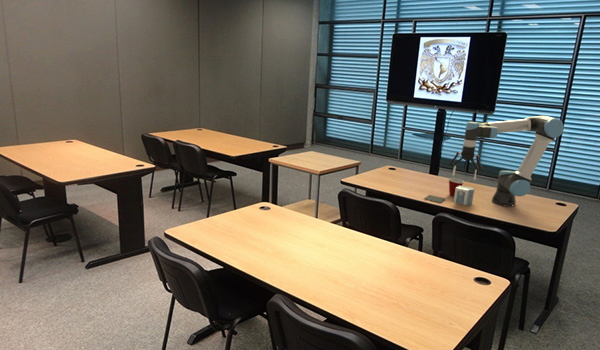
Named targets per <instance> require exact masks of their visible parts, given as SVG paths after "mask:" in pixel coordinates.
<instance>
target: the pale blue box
mask: <svg viewBox="0 0 600 350" xmlns="http://www.w3.org/2000/svg"><path fill="white" fill-rule="evenodd" d="M469 190H470V189H466V188H461V187H456V189H455V195H454V197H453V203H455V204H457V203H456V202H457V200H458V194H459V191H462V192H465V198H464V204H462V205H463V206H467V205H466V204H467V202H468V196H469Z"/></svg>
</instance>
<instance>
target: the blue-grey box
mask: <svg viewBox="0 0 600 350" xmlns="http://www.w3.org/2000/svg"><path fill="white" fill-rule="evenodd" d="M458 187H461V188H466V189H470V190H469V196H468V202H467V204H466V205H465V206H469V207H470V206H471V205H472V204H473V199H474V194H475V187H469V186H464V185H462V186H460V185H459V186H458ZM464 198H465V192H462V191H459V194H458V200H457V202H456V203H455V204H461V205H463V204H464Z"/></svg>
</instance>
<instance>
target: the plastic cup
mask: <svg viewBox="0 0 600 350" xmlns="http://www.w3.org/2000/svg"><path fill="white" fill-rule="evenodd" d="M464 183H465V181H464V180H463V179H460V178H457V177H456V178H455V177H449V178H448V187H449V188H448V189H449V190H448V191H449V193H448V194H449V196H450V197H453V198H454V195H455V189H456V187H458V186H459V185H460V186H463V184H464Z"/></svg>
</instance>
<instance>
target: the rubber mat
mask: <svg viewBox="0 0 600 350" xmlns="http://www.w3.org/2000/svg"><path fill="white" fill-rule="evenodd" d="M424 199H425V200H424ZM445 199H446V200H447V198H446V197H441V196H437V195H432V194H428V195H426V196H425V197H424V198H423V200H424V201H428V200H430V201H429V202H433V201H434V202H433V203H437V202H438V203H437V204H442V203H443V202H444V201H446V200H445Z"/></svg>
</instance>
